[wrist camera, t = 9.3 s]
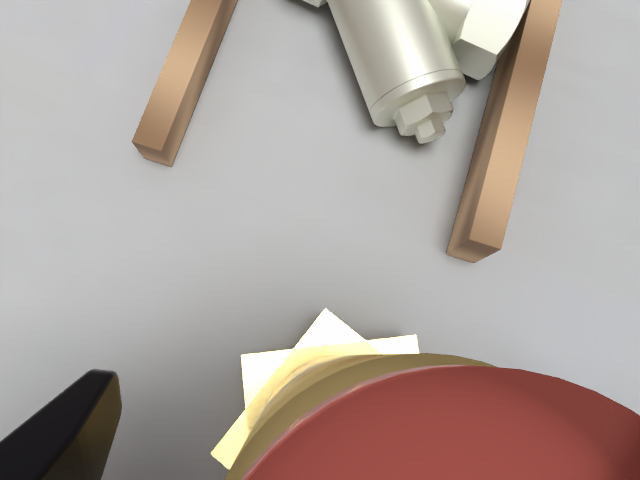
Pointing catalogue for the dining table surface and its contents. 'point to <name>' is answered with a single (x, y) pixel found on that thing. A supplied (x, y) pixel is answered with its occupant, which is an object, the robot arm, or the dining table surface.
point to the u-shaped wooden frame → (492, 143)
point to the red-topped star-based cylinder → (417, 417)
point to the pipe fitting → (421, 54)
